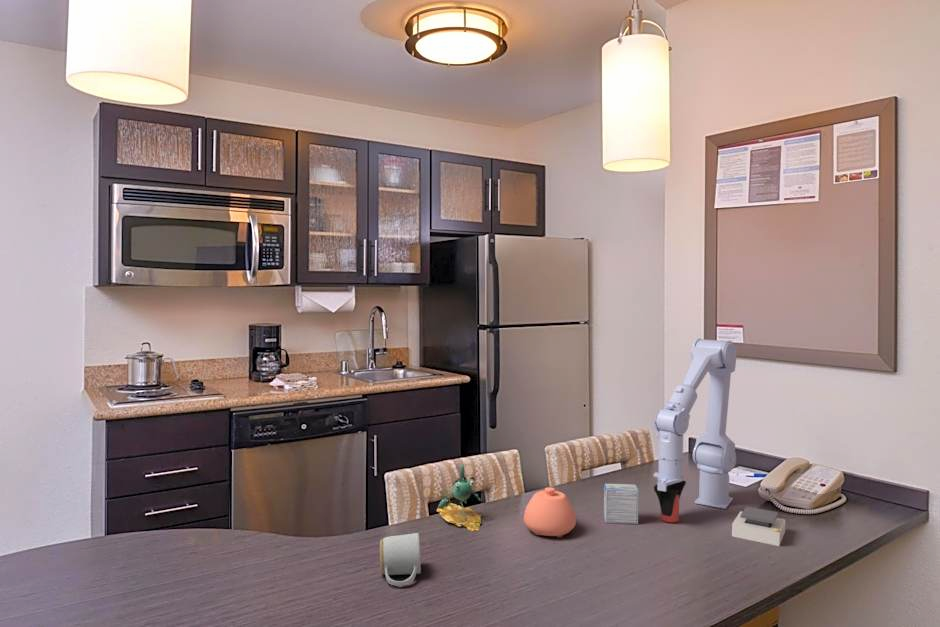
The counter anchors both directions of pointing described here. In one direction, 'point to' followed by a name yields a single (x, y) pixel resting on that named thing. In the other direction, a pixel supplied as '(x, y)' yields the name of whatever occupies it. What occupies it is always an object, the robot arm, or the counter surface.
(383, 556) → the ceramic mug
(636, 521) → the medicine box
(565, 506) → the sugar bowl
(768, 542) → the box
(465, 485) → the frog figurine
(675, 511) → the cap
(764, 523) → the switch
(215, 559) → the counter surface
